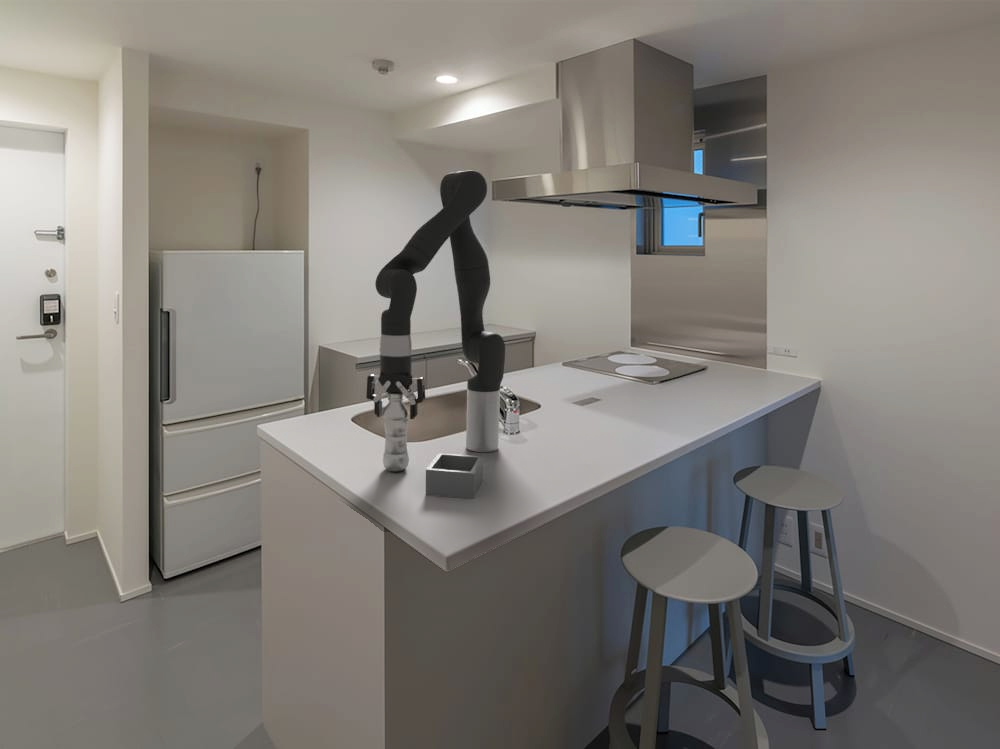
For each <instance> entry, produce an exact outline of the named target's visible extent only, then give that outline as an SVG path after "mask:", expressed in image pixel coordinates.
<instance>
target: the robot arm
mask: <svg viewBox="0 0 1000 749" xmlns="http://www.w3.org/2000/svg"><path fill="white" fill-rule="evenodd" d="M487 192H488V184H487V181H486V178H485V177H484V175H483V174H482V173H481V172H479V171H477V170H467V169H466V170H461V171H459V170H458V171H453V172H449V173H446V174H445V175H444V176H443V177H442V180H441V182H440V187H439V194H440V200H441V204H442V209H440V211H438V212H437V213H436V214H435V215H434V216H432V217H431V218H430V219H428V220H427V221H426V222H425V223H424V224H423V225H422V226H420V227H419V228H418V229H417V230H416V232H414V234H413V235H412V236H411V238H410V239H409V241H408V242H407V243H406V244H405V246H404V247H403V249H402V250H401V251H400V252H399V253H398V254H397V255H395V256H393V258H392V259H390V261H389V262H387V263H386V264H385V265H384V266H383V267H382V268H381V269H380V271H379V272H378V274H377V277H376V279H375V284H374V285H375V289H376V291H377V294H379V295H380V296H381V297H383V298H385V299H390V302H389V307H388V308H387V309H385V310H383V311H382V313H381V315H380V340H379V360H380V362H379V366H380V368H379V369H380V370H379V371H380V372H379V375H376V374H374V373H372V374H369V375H368V376H367V378H366V399H367V400H370V401H372V402H373V403H374V404H373V405H374V406H373V409H374V411H373V412H374V415H376V417H377V418H381V417H383V400H382V399H383V397H384V396H385V395H386V394H387V393H388V395H389V393H391V394H394V393H395V394H403V397H405V398H406V399H407V400H408V401H409V403H410V405H409V419H410V420H414V419H415V418H416V417H417V416H418V412H419V411H418V410H419V409H418V408H419V407H418V405H419V403H423V402H424V401H425V400H426V387H425V386H426V384H425V377H423V376H420V377H413V375H412V355H413V354H412V348H413V347H412V345H413V344H412V339H411V338H412V335H411V334H412V333H411V330H412V329H411V328H412V327H411V322H412V321H411V318H412V317H411V316H412V314H413V310H414V306H415V301H416V298H417V291H418V288H417V284H418V283H417V281H416V278H415V276H414V275H415V274H417V273H421V272H423V271H425V270H426V269H427V267H428V266H429V264H430V263H431V262H432V260H433V259H434V258H435V256H436V255H437V253H438V252H439V250H440V249H441V247H442V246H443V245H444V244H445V243H446V241H447V240H448V239H449V241H450V248H451V253H452V254H451V255H452V260H453V270H454V277H455V283H456V289H457V296H458V305H459V314H460V329H461V331H460V332H461V346H462V347H461V348H462V354H463V355H464V358H465V359H466V360H467V361H469V362H470V363H474V364H478V367H477V373H476V375H473V376H470V377H469V378H468V379H467V386H466V387H467V389H466V390H467V393H466V433H465V435H466V436H465V437H466V439H465V442H466V443H465V448H466V449H467V450H469V451H471V452H476V453H491V452H495V451H497V450H498V449H499V435H500V408H501V407H500V406H501V385H502V384H501V383H502V381H503V378H504V373H505V362H506V344H505V341H504V338H503V337H502V336H501V334H498V333H495V332H490V331H485V326H484V319H483V317H484V316H483V312H484V311H483V310H484V307H485V306H484V305H485V302H486V299H487V297H488V295H489V292H490V288H491V274H490V272H491V271H490V266H489V260H488V256H487V253H486V251H485V250H484V248H483V246H482V244H481V242H480V241H479V239H478V237H477V235H476V234H475V232H474V230H473V226H472V222H471V218H470V215H472V214H473V213H474V212H475V211H476V210H477V209H478V208H479V207H480V205H482V204H483V202H484V201H485V199H486V196H487ZM378 382H379V383H380V385H381V386H382V387H381V388H380V389H379V390H378V392H377V393H376V394H375V391H376V384H377V383H378ZM412 384H413V385H414V386H415V387H416V388H417V390H416V391H417V396H416V395H415V392H414V391H413V389H412V388H411V386H412Z"/></svg>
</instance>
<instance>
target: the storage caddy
mask: <svg viewBox="0 0 1000 749" xmlns="http://www.w3.org/2000/svg"><path fill="white" fill-rule="evenodd" d="M483 474H484V456H481V455H467V454H459V453H457V454H456V453H445V452H444V453H443V452H439V453H438V454H436V456H435V457H434V459H433V460H432V461H431V462H430V464H429V465H428V466H427V467H426V469H425V495H426V496H436V497H448V498H456V499H457V498H460V499H468V500H469V499H471V500H473V499H475V497H476V494H477V493H478V491H479V489H480V487H481V484H482V482H483V477H484V475H483Z"/></svg>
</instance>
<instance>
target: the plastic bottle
mask: <svg viewBox="0 0 1000 749" xmlns="http://www.w3.org/2000/svg"><path fill="white" fill-rule="evenodd" d="M404 397H405V396H404V394H395V393H394V394H391V393H389V394H388V396H387V400H388V401H389V402H388V403H387V404H386V406H385V407H384V409H383V410H382V417H383V418H382V419H383V424H384V434H385V435H384V438H385V442H384V452H383V457H382V464H383V467H384V469H385V470H387V471H389V472H401V471H405V470H406V469H407V468H408V467H409V462H410V456H409V452H408V443H407V442H408V440H407V436H408V435H407V434H408V429H407V428H408V422H409V418H410V411H409V409H408V407H407V406H406V404H405V403H404V399H405V398H404Z"/></svg>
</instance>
